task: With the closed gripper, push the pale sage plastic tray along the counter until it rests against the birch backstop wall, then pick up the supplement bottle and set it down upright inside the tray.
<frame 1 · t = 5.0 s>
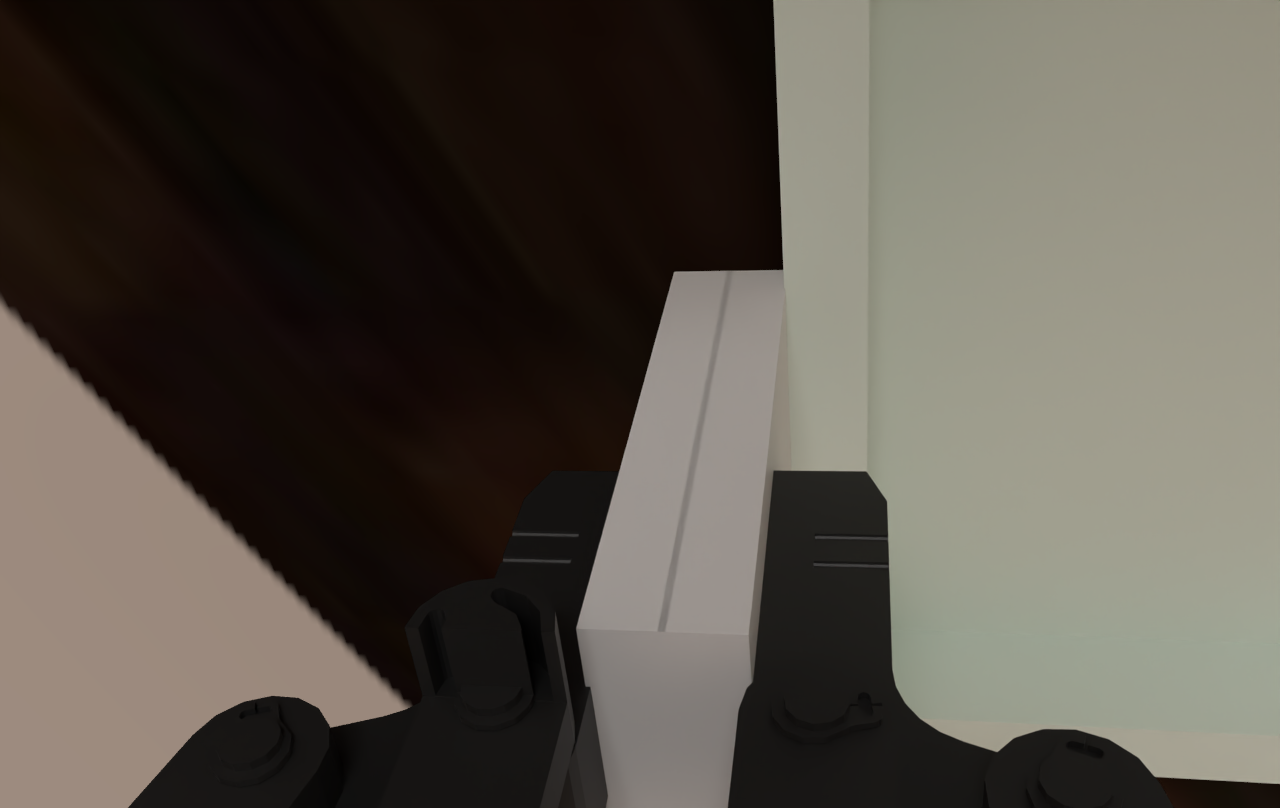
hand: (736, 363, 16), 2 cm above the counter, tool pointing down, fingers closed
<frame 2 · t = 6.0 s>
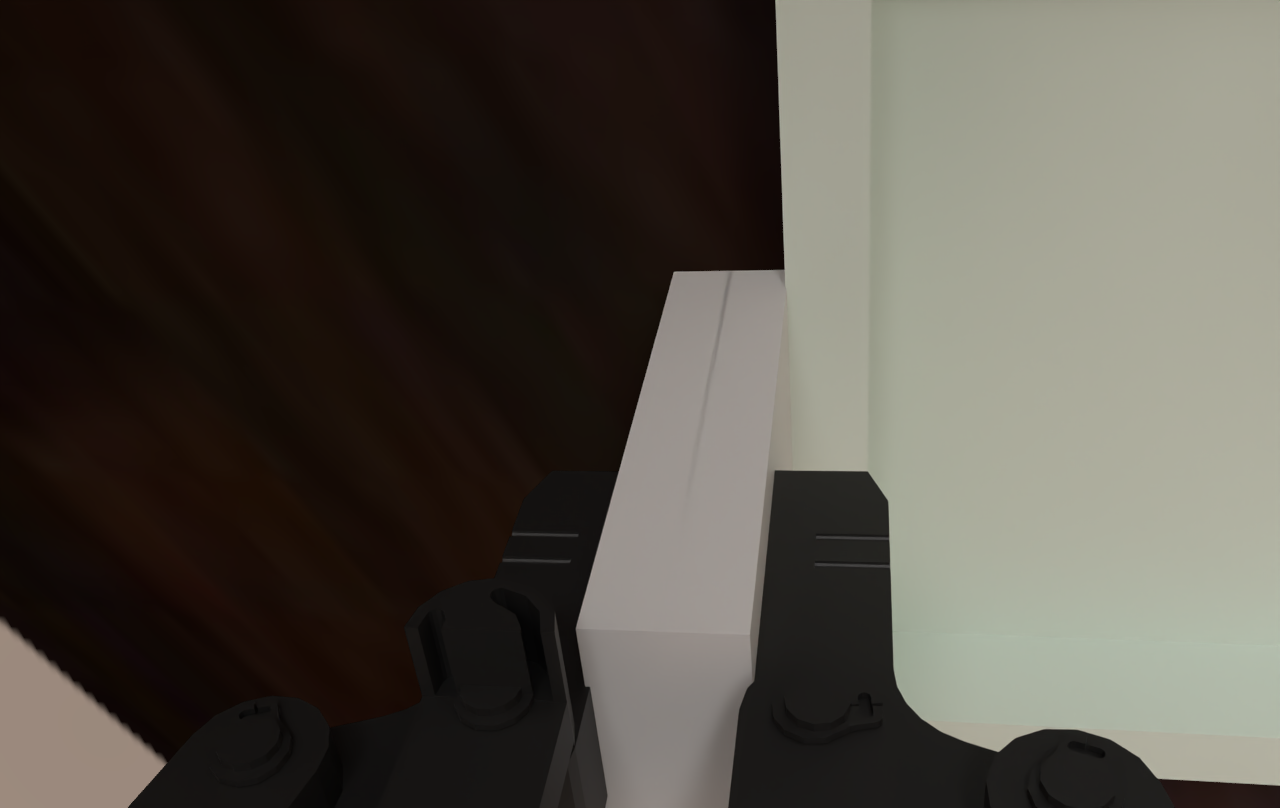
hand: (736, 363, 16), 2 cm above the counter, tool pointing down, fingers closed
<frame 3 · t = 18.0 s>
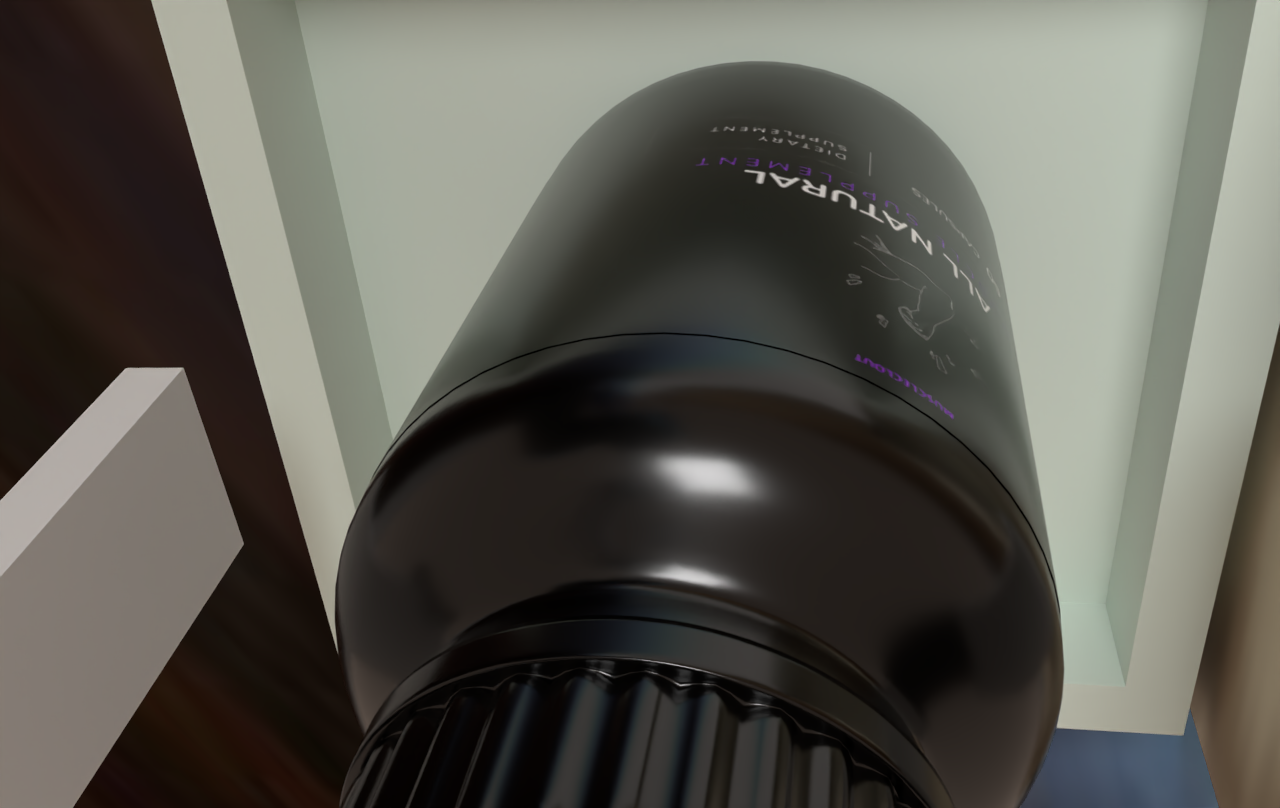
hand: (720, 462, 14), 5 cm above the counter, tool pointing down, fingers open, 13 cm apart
supplement bottle: (756, 265, 18), resting on sliding tray
sliding tray: (740, 266, 19), on the counter, touching supplement bottle
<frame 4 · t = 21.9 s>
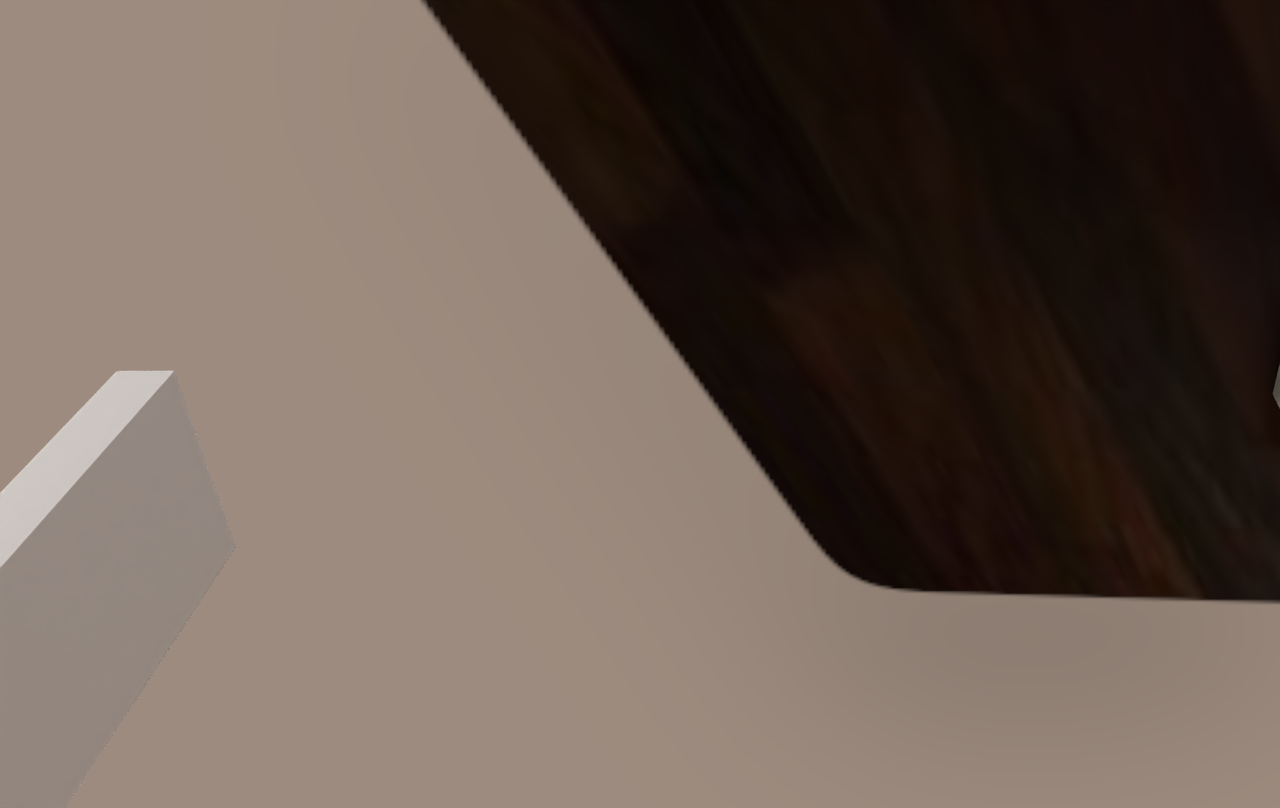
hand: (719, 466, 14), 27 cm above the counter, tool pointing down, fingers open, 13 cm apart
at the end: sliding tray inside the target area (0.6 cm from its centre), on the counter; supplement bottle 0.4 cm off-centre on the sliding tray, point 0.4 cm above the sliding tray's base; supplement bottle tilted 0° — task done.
